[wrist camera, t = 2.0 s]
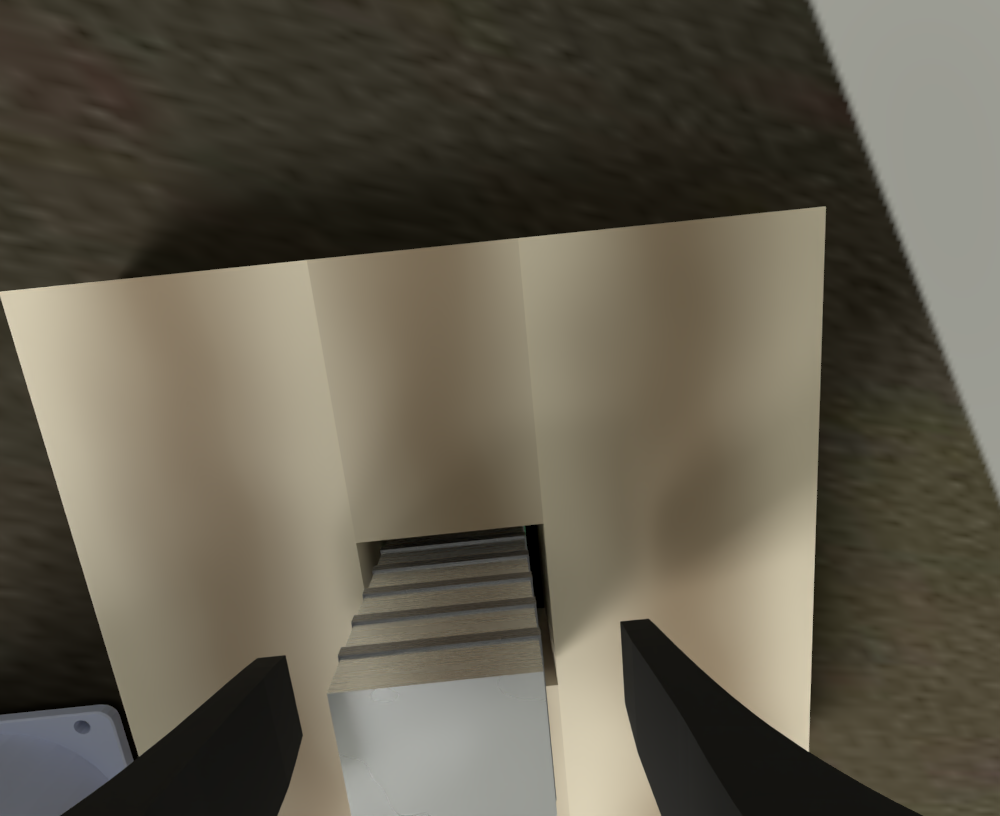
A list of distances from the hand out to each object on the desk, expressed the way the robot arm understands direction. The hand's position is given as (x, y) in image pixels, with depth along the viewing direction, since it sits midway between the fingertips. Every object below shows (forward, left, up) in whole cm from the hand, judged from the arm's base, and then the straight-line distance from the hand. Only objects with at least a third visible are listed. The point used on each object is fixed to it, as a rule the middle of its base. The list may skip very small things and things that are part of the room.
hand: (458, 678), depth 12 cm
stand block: (0, 0, -6) cm, 6 cm away
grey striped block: (0, 0, -6) cm, 6 cm away
